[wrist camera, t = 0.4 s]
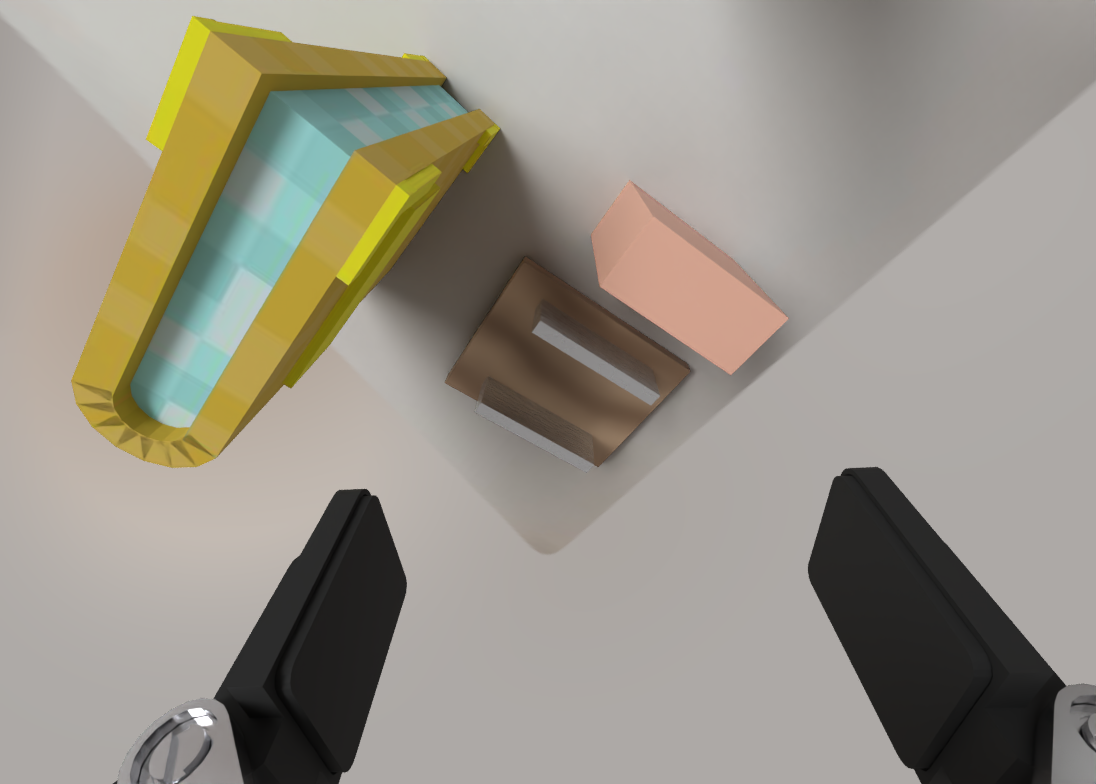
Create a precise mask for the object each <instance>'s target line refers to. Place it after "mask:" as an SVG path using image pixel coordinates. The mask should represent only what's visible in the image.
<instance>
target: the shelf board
mask: <svg viewBox="0 0 1096 784" xmlns="http://www.w3.org/2000/svg"><path fill="white" fill-rule="evenodd" d="M542 299H544V300H545V301H547V302H548V303H550V304H551V305H553V306H555V307H556V308H558V309H559V310H561V311H562V312H564V313H565V314H567V315H569V316H570V317H572V318H573V319H575V320H576V321H578V322H580V323H581V324H583V325H584V326H586V327H587V328H589V329H590V330H592V331H594V332H595V333H597V334H598V335H600V336H601V337H603V338H604V339H606V340H608V341H609V342H611V343H612V344H614V345H615V346H617V347H619V348H620V349H622V350H623V351H625V352H626V353H628V354H629V355H631V356H633V357H634V358H636V359H637V360H639V361H640V362H642V363H643V364H645V365H647V366H648V367H650V368H651V369H652V370H653V373H654V376H655V380H656V383H657V386H658V390H659V393H660V397H659V398H658V399H657V400H656V401H655V402H654V403H653V404H652V405H649V404H648V403H646V402H644V401H643V400H641V399H639V398H638V397H636V396H634V395H633V394H631V393H630V392H628V391H626V390H625V389H623V388H621V387H620V386H618V385H617V384H615V383H613V382H612V381H610V380H608V379H607V378H605V377H604V376H602V375H600V374H599V373H597V372H595V371H594V370H592V369H591V368H589V367H587V366H586V365H584V364H582V363H581V362H579V361H577V360H576V359H574V358H573V357H571V356H569V355H568V354H566V353H564V352H563V351H561V350H560V349H558V348H556V347H555V346H553V345H551V344H550V343H548V342H547V341H545V340H543V339H542V338H540V337H538V336H537V335H535V334H534V333H532V327H533V320H534V312H535V309H536V307H537V306H538V305H539V303H540V302H541V300H542ZM689 372H690V369H689V366H688V364H687V363H686V362H684V361H683V360H681V359H680V358H678V357H677V356H675V355H674V354H672V353H671V352H669V351H668V350H666V349H665V348H663V347H662V346H660V345H659V344H657V343H656V342H654V341H653V340H651V339H650V338H648V337H647V336H645V335H644V334H642V333H641V332H639V331H638V330H636V329H635V328H633V327H631V326H630V325H628V324H627V323H625V322H624V321H622V320H621V319H619V318H618V317H616V316H615V315H613V314H612V313H610V312H609V311H607V310H606V309H604V308H603V307H601V306H600V305H598V304H597V303H595V302H594V301H592V300H591V299H589V298H588V297H586V296H585V295H583V294H582V293H580V292H579V291H577V290H576V289H574V288H573V287H571V286H570V285H568V284H567V283H565V282H564V281H562V280H560V279H559V278H557V277H556V276H554V275H553V274H551V273H550V272H548V271H547V270H545V269H544V268H542V267H541V266H539V265H538V264H536V263H535V262H533V261H532V260H530V259H529V258H527V257H526V256H525V257H524V259H523V260H522V262H521V263H520V265H519V266H518V268H517V269H516V271H515V273H514V274H513V276H512V277H511V279H510V280H509V282H508V283H507V285H506V286H505V288H504V289H503V291H502V293H501V294H500V296H499V297H498V299H497V300H496V302H495V303H494V305H493V306H492V308H491V309H490V311H489V313H488V314H487V316H486V317H485V319H484V320H483V322H482V323H481V325H480V326H479V328H478V329H477V331H476V332H475V334H474V336H473V337H472V339H471V340H470V342H469V343H468V345H467V346H466V348H465V349H464V351H463V352H462V354H461V356H460V357H459V359H458V360H457V362H456V363H455V365H454V366H453V368H452V369H451V371H450V372H449V374H448V376H447V378H446V381H445V383H446V384H448V385H449V386H451V387H453V388H455V389H457V390H459V391H460V392H462V393H464V394H466V395H468V396H470V397H471V398H473V399H475V400H477V401H478V397H479V393H480V390H481V386H482V384H483V383H484V381H485V380H486V378H487V377H488V376H489V377H491V378H493V379H494V380H496V381H498V382H500V383H501V384H503V385H505V386H507V387H508V388H510V389H512V390H514V391H515V392H517V393H519V394H521V395H523V396H524V397H526V398H528V399H530V400H531V401H533V402H535V403H537V404H538V405H540V406H542V407H544V408H545V409H547V410H549V411H551V412H552V413H554V414H556V415H558V416H559V417H561V418H563V419H565V420H566V421H568V422H570V423H572V424H574V425H575V426H577V427H579V428H581V429H582V430H584V431H586V432H588V433H589V434H591V435H592V439H593V453H594V465H595V466H597V467H599V466H600V465H601V464H602V463H603V462H604V461H605V460H606V459H607V458H608V456H609V455H610V454H611V453H612V452H613V451H614V450H615V449H616V448H617V447H618V446H619V445H620V444H621V443H622V442H623V441H624V440H625V439H626V438H627V437H628V436H629V435H630V434H631V433H632V432H633V431H634V430H635V428H636V427H637V426H638V425H639V424H640V423H641V422H642V421H643V420H644V419H645V418H646V417H647V416H648V415H649V414H650V413H651V412H652V411H653V410H654V409H655V408H656V407H657V406H658V405H659V404H660V403H661V402H662V400H663V399H664V398H665V397H666V396H667V395H668V394H669V393H670V392H671V391H672V390H673V389H674V388H675V387H676V386H677V385H678V384H679V383H680V382H681V381H682V380H683V379H684V378H685V377H686V376H687V375H688V374H689Z"/></svg>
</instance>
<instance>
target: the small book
mask: <svg viewBox="0 0 1096 784" xmlns="http://www.w3.org/2000/svg"><path fill="white" fill-rule="evenodd" d="M591 238H592V244H593V250H594V256H595V262H596V268H597V274H598V280H599V286H600V287H601V288H603V289H604V290H605V291H607V292H608V293H610V294H611V295H613V296H614V297H616V298H617V299H619V300H620V301H622V302H623V303H625V304H626V305H628V306H629V307H631V308H632V309H634V310H635V311H637V312H638V313H640V314H641V315H643V316H644V317H645V318H647V319H648V320H650V321H651V322H653V323H654V324H656V325H657V326H659V327H660V328H662V329H663V330H665V331H666V332H668V333H669V334H671V335H672V336H674V337H675V338H677V339H678V340H680V341H681V342H683V343H684V344H685V345H687V346H688V347H690V348H691V349H693V350H694V351H696V352H697V353H699V354H700V355H702V356H703V357H705V358H706V359H708V360H709V361H711V362H712V363H714V364H715V365H717V366H718V367H720V368H721V369H722V370H724V371H725V372H727V373H728V374H730V375H732V374H733V373H734V372H735V371H736V370H737V369H738V368H739V367H740V366H741V365H742V364H743V363H744V362H745V361H746V360H747V359H748V358H749V357H750V356H751V355H752V354H753V353H754V352H755V351H756V350H757V349H758V348H759V347H760V346H761V345H762V344H763V343H764V342H765V341H766V340H767V339H768V338H769V337H770V336H771V335H772V334H773V333H775V332H776V331H777V330H778V329H779V328H780V327H781V326H782V325H783V324H784V323H785V322H786V321H787V320H788V319H789V318H788V317H787V316H786V315H785V314H784V313H783V312H782V311H781V310H780V308H779V307H778V306H777V305H776V304H775V303H774V302H773V301H772V300H771V299H770V298H769V297H768V296H767V295H766V294H765V293H764V291H763V290H762V289H761V288H760V287H759V286H758V285H757V284H756V283H755V282H754V281H753V280H752V279H751V278H750V277H749V276H748V274H747V273H746V272H745V271H744V270H743V269H742V268H741V267H740V266H739V265H738V264H737V263H736V262H735V261H734V260H733V259H732V258H731V257H729V256H728V255H727V254H726V253H724V252H723V251H722V250H720V249H719V248H718V247H716V246H715V245H714V244H712V243H711V242H710V241H709V240H707V239H706V238H705V237H703V236H702V235H701V234H699V233H698V232H697V231H695V230H694V229H693V228H692V227H690V226H689V225H688V224H686V223H685V222H684V221H682V220H681V219H680V218H679V217H677V216H676V215H675V214H673V213H672V212H671V211H669V210H668V209H667V208H665V207H664V206H663V205H662V204H660V203H659V202H658V201H656V200H655V199H654V198H652V197H651V196H650V195H648V194H647V193H646V192H645V191H643V190H642V189H641V188H639V187H638V186H637V185H635V184H634V183H633V182H631V181H630V180H629V182H628V183H627V184H626V186H625V187H624V189H623V190H622V191H621V193H620V194H619V196H618V197H617V198H616V200H615V201H614V203H613V204H612V206H611V207H610V208H609V210H608V211H607V213H606V214H605V215H604V217H603V218H602V220H601V221H600V223H599V224H598V225H597V227H596V228H595V230H594V231H593V232H592V234H591Z"/></svg>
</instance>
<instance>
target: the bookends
mask: <svg viewBox="0 0 1096 784" xmlns="http://www.w3.org/2000/svg"><path fill="white" fill-rule="evenodd" d="M532 333H534V334H535V335H537V336H538V337H540V338H542V339H543V340H545V341H547V342H548V343H550V344H551V345H553V346H555V347H556V348H558V349H560V350H561V351H563V352H564V353H566V354H568V355H569V356H571V357H573V358H574V359H576V360H577V361H579V362H581V363H582V364H584V365H586V366H587V367H589V368H591V369H592V370H594V371H595V372H597V373H599V374H600V375H602V376H604V377H605V378H607V379H608V380H610V381H612V382H613V383H615V384H617V385H618V386H620V387H621V388H623V389H625V390H626V391H628V392H630V393H631V394H633V395H634V396H636V397H638V398H639V399H641V400H643V401H644V402H646V403H648V404H649V405H652V404H653V403H654V402H655V401H656V400H657V399H658V398H659V397H660V393H659V390H658V386H657V383H656V380H655V376H654V373H653V370H652V369H651V368H650V367H648V366H647V365H645V364H643V363H642V362H640V361H639V360H637V359H636V358H634V357H633V356H631V355H629V354H628V353H626V352H625V351H623V350H622V349H620V348H619V347H617V346H615V345H614V344H612V343H611V342H609V341H608V340H606V339H604V338H603V337H601V336H600V335H598V334H597V333H595V332H594V331H592V330H590V329H589V328H587V327H586V326H584V325H583V324H581V323H580V322H578V321H576V320H575V319H573V318H572V317H570V316H569V315H567V314H565V313H564V312H562V311H561V310H559V309H558V308H556V307H555V306H553V305H551V304H550V303H548V302H547V301H545V300H544V299H542V300H541V302H540V303H539V305H538V306H537V307H536V309H535V312H534V320H533V327H532ZM475 413H477V414H479V415H480V416H482V417H484V418H486V419H488V420H490V421H492V422H493V423H495V424H497V425H499V426H501V427H503V428H505V429H506V430H508V431H510V432H512V433H514V434H516V435H517V436H519V437H521V438H523V439H525V440H527V441H529V442H530V443H532V444H534V445H536V446H538V447H540V448H542V449H543V450H545V451H547V452H549V453H551V454H553V455H555V456H556V457H558V458H560V459H562V460H564V461H566V462H567V463H569V464H571V465H573V466H575V467H577V468H579V469H580V470H582V471H584V472H586V473H587V472H588V471H589V470H590V469H591V468H592V467H593V466H594V453H593V439H592V435H591V434H589V433H588V432H586V431H584V430H582V429H581V428H579V427H577V426H575V425H574V424H572V423H570V422H568V421H566V420H565V419H563V418H561V417H559V416H558V415H556V414H554V413H552V412H551V411H549V410H547V409H545V408H544V407H542V406H540V405H538V404H537V403H535V402H533V401H531V400H530V399H528V398H526V397H524V396H523V395H521V394H519V393H517V392H515V391H514V390H512V389H510V388H508V387H507V386H505V385H503V384H501V383H500V382H498V381H496V380H494V379H493V378H491V377H489V376H488V377H487V378H486V380H485V381H484V383H483V384H482V386H481V390H480V393H479V397H478V401H477V404H476V408H475Z"/></svg>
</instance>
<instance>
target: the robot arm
mask: <svg viewBox="0 0 1096 784" xmlns="http://www.w3.org/2000/svg"><path fill="white" fill-rule="evenodd" d="M808 574H809V579H810V582H811V584H812V586H813V588H814V590H815V592H816V594H817V596H818V598H819V600H820V602H821V604H822V606H823V608H824V610H825V612H826V614H827V616H828V618H829V620H830V622H831V624H832V626H833V628H834V630H835V632H836V634H837V636H838V638H839V640H840V642H841V643H842V646H843V647H844V649H845V651H846V653H847V655H848V657H849V659H850V661H851V663H852V665H853V667H854V669H855V671H856V673H857V675H858V677H859V679H860V681H861V683H862V685H863V687H864V689H865V691H866V693H867V695H868V697H869V699H870V701H871V703H872V705H873V707H874V709H875V711H876V713H877V715H878V717H879V719H880V721H881V723H882V725H883V727H884V729H885V731H886V733H887V735H888V736H889V739H890V741H891V742H892V744H893V747H894V749H895V750H896V753H897V754H898V756H899V758H900V759H901V761H902V762H903V763H904V765H905V766H907V767H908V768H911V769H914V770H915V772H916V774H917V776H918V778H919V780H920V782H921V784H1096V686H1094V685H1089V684H1076V685H1068V686H1066V685H1065V684H1064V683H1063V681H1062V680H1061V679H1060V678H1059V677H1058V676H1057V674H1056V673H1055V672H1054V671H1053V670H1052V668H1051V667H1050V666H1049V665H1048V664H1047V663H1046V661H1044V659H1043V658H1042V657H1041V656H1040V654H1039V653H1038V652H1037V651H1036V650H1035V648H1034V647H1033V646H1032V645H1031V644H1030V643H1029V641H1028V640H1027V639H1026V638H1025V637H1024V635H1023V634H1022V633H1021V632H1020V631H1019V629H1018V628H1017V627H1016V626H1015V625H1014V624H1013V622H1012V621H1011V620H1010V619H1009V618H1008V616H1007V615H1006V614H1005V613H1004V612H1003V611H1002V609H1001V608H1000V607H999V606H998V605H997V603H996V602H995V601H994V600H993V599H992V598H991V596H990V595H989V594H988V593H987V592H986V590H985V589H984V588H983V587H982V586H981V584H980V583H979V582H978V581H977V580H976V579H975V577H974V576H973V575H972V574H971V573H970V572H969V570H968V569H967V568H966V567H965V566H964V564H963V563H962V562H961V561H960V560H959V559H958V557H957V556H956V555H955V554H954V553H953V551H952V550H951V549H950V548H949V547H948V545H947V544H945V543H944V542H943V541H942V539H941V538H940V537H939V536H938V535H937V533H936V532H935V531H934V530H933V529H932V527H931V526H930V525H929V524H928V523H927V522H926V520H925V519H924V518H923V517H922V516H921V514H920V513H919V512H918V511H917V510H916V509H915V507H914V506H913V505H912V504H911V503H910V502H909V500H908V499H907V498H906V497H905V495H904V494H903V493H902V492H901V491H900V490H899V488H898V487H897V486H896V485H895V484H894V482H893V481H892V480H891V479H890V478H889V477H888V475H887V474H886V473H885V472H884V471H883V470H882V469H880V468H878V467H869V468H868V467H867V468H848V469H845V470H844V471H843V472H842V474H841V476H836V477H835V478H834V480H833V482H832V486H831V489H830V492H829V496H828V499H827V503H826V506H825V510H824V513H823V516H822V520H821V523H820V526H819V530H818V533H817V537H816V540H815V544H814V547H813V550H812V554H811V557H810V561H809V564H808ZM406 587H407V582H406V576H405V573H404V571H403V568H402V565H401V562H400V559H399V556H398V553H397V550H396V547H395V545H394V542H393V539H392V536H391V533H390V530H389V527H388V524H387V522H386V519H385V516H384V513H383V510H382V507H381V504H380V502H379V499H378V497H376V496H371V494H370V492H369V491H368V490H367V489H353V490H339V491H337V492H336V493H335V495H334V496H333V498H332V500H331V501H330V503H329V505H328V507H327V508H326V510H325V512H324V514H323V516H322V517H321V519H320V521H319V523H318V524H317V526H316V528H315V530H314V532H313V533H312V535H311V537H310V539H309V540H308V542H307V544H306V546H305V548H304V549H303V551H302V553H301V555H300V556H299V557H297V558H296V559H295V560H294V561H293V562H292V563H291V565H290V566H289V568H288V569H287V572H286V573H285V575H284V576H283V578H282V580H281V582H280V583H279V585H278V587H277V589H276V590H275V592H274V594H273V596H272V597H271V599H270V601H269V603H268V604H267V606H266V608H265V610H264V611H263V613H262V615H261V617H260V618H259V620H258V622H257V624H256V626H255V627H254V629H253V631H252V632H251V634H250V636H249V638H248V639H247V641H246V643H245V645H244V646H243V648H242V650H241V652H240V653H239V655H238V657H237V659H236V660H235V662H234V664H233V666H232V668H231V669H230V671H229V673H228V674H227V676H226V678H225V680H224V682H223V683H222V685H221V687H220V688H219V690H218V692H217V693H216V695H215V697H214V699H208V698H200V699H196V700H192V701H188V702H185V703H183V704H181V705H179V706H177V707H175V708H173V709H171V710H170V711H168V712H167V713H165V714H164V715H163V716H161V717H160V718H158V719H157V720H156V721H154V722H153V723H152V724H151V725H150V726H149V727H148V728H147V729H146V730H145V731H144V732H143V733H142V734H141V735H140V736H139V738H138V739H137V741H136V742H135V743H134V745H133V746H132V748H131V749H130V750H129V752H128V753H127V755H126V757H125V759H124V761H123V763H122V766H121V768H120V770H119V775H118V780H117V781H116V782H115V783H113V784H339V780H340V777H341V774H342V772H347V771H348V770H349V769H350V768H351V766H352V764H353V762H354V759H355V756H356V753H357V750H358V746H359V743H360V740H361V737H362V733H363V730H364V727H365V724H366V720H367V717H368V714H369V711H370V708H371V704H372V701H373V698H374V695H375V691H376V688H377V685H378V682H379V678H380V675H381V672H382V669H383V666H384V662H385V659H386V656H387V653H388V650H389V646H390V643H391V640H392V637H393V633H394V630H395V627H396V624H397V621H398V617H399V614H400V610H401V608H402V604H403V601H404V598H405V594H406Z"/></svg>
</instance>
